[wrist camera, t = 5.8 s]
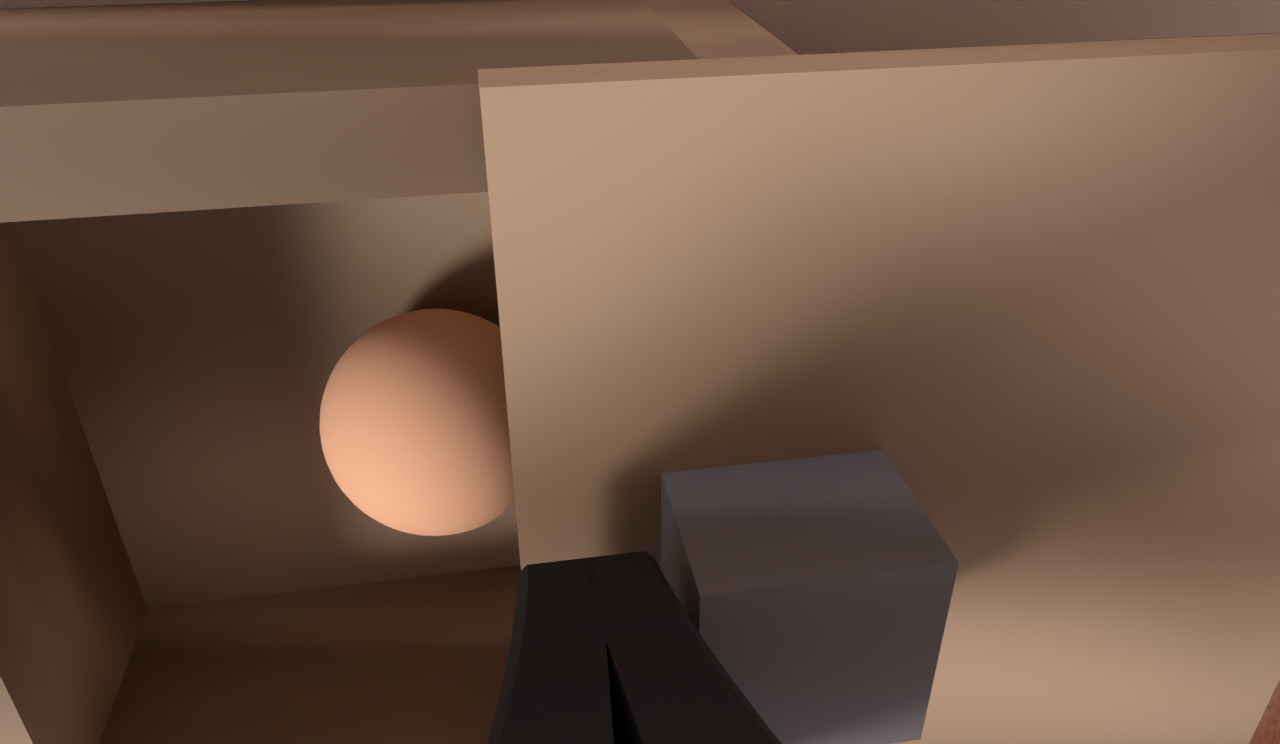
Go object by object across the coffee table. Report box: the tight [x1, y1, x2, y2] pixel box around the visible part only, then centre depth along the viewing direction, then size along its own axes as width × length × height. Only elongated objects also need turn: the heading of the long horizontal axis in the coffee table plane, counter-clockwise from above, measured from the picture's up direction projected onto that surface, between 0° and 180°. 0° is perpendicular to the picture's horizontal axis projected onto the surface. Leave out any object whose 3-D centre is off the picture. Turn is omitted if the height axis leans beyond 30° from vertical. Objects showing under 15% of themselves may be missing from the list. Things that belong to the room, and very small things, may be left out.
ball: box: [319, 309, 515, 536], centre depth 13 cm, size 3×3×3 cm
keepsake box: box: [0, 0, 799, 744], centre depth 13 cm, size 10×10×4 cm
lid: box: [478, 33, 1280, 744], centre depth 11 cm, size 10×10×2 cm
